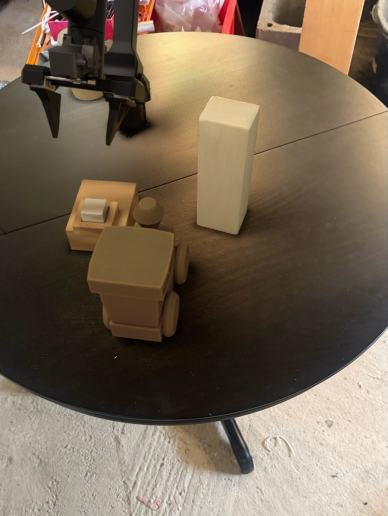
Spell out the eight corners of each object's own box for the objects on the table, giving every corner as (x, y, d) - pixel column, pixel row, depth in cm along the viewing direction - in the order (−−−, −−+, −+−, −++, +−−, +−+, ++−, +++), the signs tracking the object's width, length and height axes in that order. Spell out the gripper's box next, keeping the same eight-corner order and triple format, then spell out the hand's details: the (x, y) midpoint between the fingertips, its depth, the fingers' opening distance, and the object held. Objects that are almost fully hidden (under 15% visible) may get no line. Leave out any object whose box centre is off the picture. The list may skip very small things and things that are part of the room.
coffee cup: (88, 75, 114) (77, 19, 103) (117, 88, 111) (109, 32, 100) (60, 93, 110) (46, 37, 99) (90, 107, 107) (79, 51, 96)
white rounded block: (87, 207, 81) (85, 198, 79) (108, 208, 81) (106, 199, 79) (83, 222, 79) (80, 213, 77) (104, 223, 79) (102, 214, 77)
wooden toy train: (173, 356, 72) (168, 288, 58) (101, 347, 73) (78, 278, 59) (193, 258, 83) (192, 180, 69) (129, 251, 84) (115, 173, 70)
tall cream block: (249, 208, 89) (262, 101, 71) (238, 235, 86) (249, 129, 68) (208, 199, 91) (212, 92, 73) (196, 225, 87) (196, 119, 69)
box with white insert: (87, 199, 91) (80, 170, 85) (139, 202, 90) (135, 174, 85) (70, 252, 84) (61, 225, 78) (126, 256, 83) (121, 229, 78)
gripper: (1, 9, 66) (2, 130, 72) (129, 23, 64) (119, 146, 70) (39, 31, 77) (37, 135, 82) (150, 44, 75) (140, 150, 80)
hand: (81, 141), depth 78 cm, fingers open, 9 cm apart
